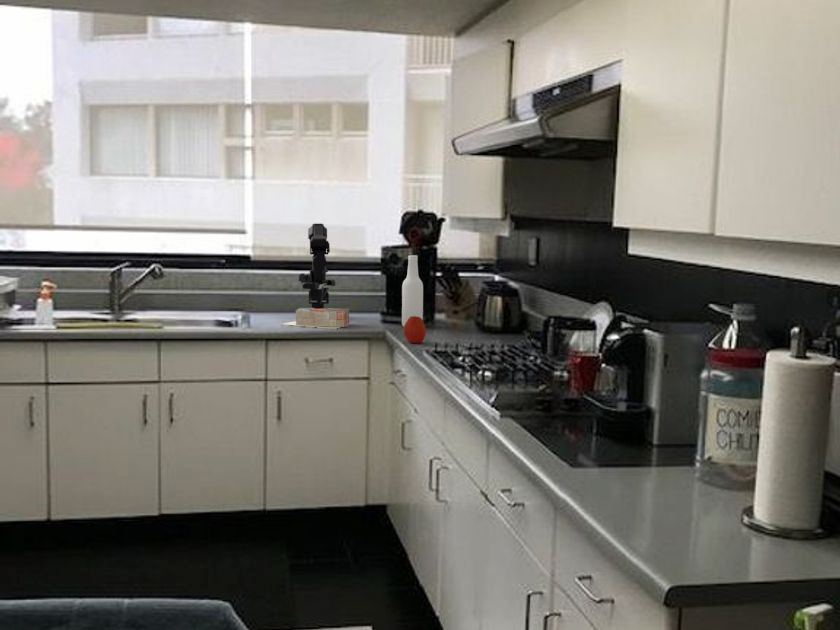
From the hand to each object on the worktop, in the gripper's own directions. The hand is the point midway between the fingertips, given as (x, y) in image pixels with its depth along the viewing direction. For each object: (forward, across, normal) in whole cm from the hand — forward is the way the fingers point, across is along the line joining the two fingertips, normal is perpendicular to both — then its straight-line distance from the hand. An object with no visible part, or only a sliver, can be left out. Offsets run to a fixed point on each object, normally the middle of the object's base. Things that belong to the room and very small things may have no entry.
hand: (319, 304), depth 388 cm
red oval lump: (+9, +27, +56) cm, 63 cm away
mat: (+9, +4, 0) cm, 9 cm away
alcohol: (+9, -12, +38) cm, 41 cm away
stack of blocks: (+5, -4, +1) cm, 6 cm away
